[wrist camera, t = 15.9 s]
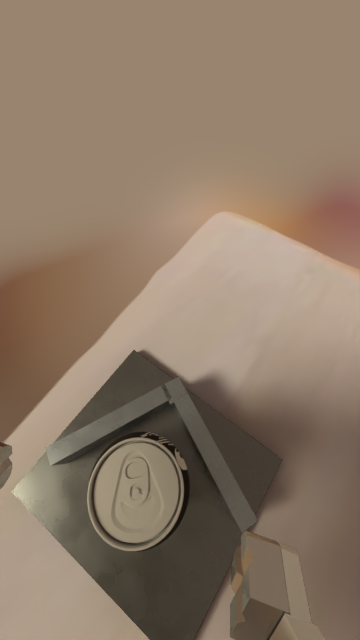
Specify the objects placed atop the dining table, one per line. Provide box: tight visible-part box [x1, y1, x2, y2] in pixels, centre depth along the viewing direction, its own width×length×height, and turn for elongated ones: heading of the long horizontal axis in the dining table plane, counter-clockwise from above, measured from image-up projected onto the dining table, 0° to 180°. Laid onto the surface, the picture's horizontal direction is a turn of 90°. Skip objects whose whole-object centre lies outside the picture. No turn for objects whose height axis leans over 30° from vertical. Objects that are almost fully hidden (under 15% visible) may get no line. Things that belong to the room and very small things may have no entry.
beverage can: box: [87, 432, 190, 552], centre depth 21 cm, size 7×7×12 cm
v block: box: [12, 350, 282, 640], centre depth 25 cm, size 18×20×5 cm
